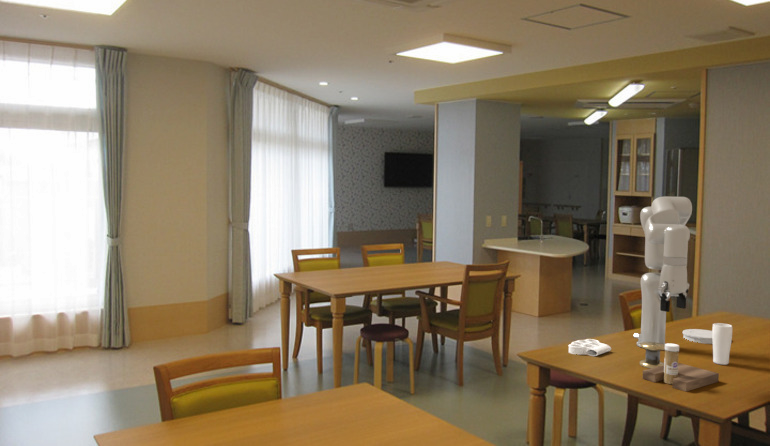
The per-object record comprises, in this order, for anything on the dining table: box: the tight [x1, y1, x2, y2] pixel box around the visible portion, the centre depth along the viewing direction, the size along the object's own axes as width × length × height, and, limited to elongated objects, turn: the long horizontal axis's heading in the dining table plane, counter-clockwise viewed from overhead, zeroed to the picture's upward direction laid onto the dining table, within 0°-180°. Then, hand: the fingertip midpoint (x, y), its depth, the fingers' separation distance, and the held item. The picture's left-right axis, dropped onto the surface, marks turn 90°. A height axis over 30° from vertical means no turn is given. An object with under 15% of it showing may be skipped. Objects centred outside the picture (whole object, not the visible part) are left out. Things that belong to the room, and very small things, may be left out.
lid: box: [682, 328, 713, 345], centre depth 276 cm, size 17×20×3 cm
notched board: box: [642, 362, 720, 392], centre depth 216 cm, size 16×20×3 cm
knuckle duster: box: [567, 338, 612, 357], centre depth 254 cm, size 3×18×15 cm
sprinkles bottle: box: [662, 342, 680, 385], centre depth 213 cm, size 5×5×13 cm
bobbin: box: [639, 342, 665, 369], centre depth 233 cm, size 9×9×8 cm
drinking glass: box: [711, 322, 733, 366], centre depth 237 cm, size 7×7×15 cm
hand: (673, 309), depth 217 cm, fingers open, 9 cm apart
